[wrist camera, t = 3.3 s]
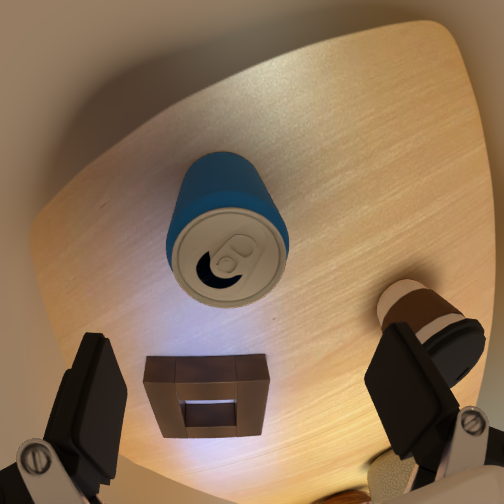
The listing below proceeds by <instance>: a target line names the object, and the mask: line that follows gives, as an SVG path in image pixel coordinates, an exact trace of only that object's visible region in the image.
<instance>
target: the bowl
mask: <svg viewBox="0 0 504 504" xmlns="http://www.w3.org/2000/svg"><path fill="white" fill-rule="evenodd" d="M323 504H372V501H371V496H370V493H367V492H364V491H357V490H350V491H346V492H342V493H339V494H336V495H334V496H331V497H329V498H328V499H327V500H326V501H325V502H324V503H323Z"/></svg>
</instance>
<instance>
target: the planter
mask: <svg viewBox="0 0 504 504" xmlns="http://www.w3.org/2000/svg"><path fill="white" fill-rule="evenodd" d="M414 465H415V460H414V457H411V458H408V459H405V460H402V461H401V460H400V458H399V455H398V456H397V455H396V454H395V453H394V451H393V449H391V450H389V451H387V452H385V453H384V454H382V455H381V456H379V457H378V458H377V459H376V460H375V461H374V462H373V463H372V465H371V466H370V468H369V470H368V473H367V481H368V487H369V492H370V496H371V501H372V504H378V503H381V502H384V501H387V500H389V499H392V498H395V497H398V496H401V495H403V494H404V492H405V489H406V487H407V484H408V482H409V479H410V476H411V473H412V471H413V468H414Z"/></svg>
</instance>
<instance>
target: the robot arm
mask: <svg viewBox="0 0 504 504" xmlns="http://www.w3.org/2000/svg"><path fill="white" fill-rule="evenodd" d="M364 381H365V385H366V387H367V389H368V392H369V394H370V396H371V399H372V401H373V403H374V406H375V408H376V410H377V413H378V415H379V417H380V420H381V422H382V424H383V427H384V429H385V432H386V434H387V437H388V439H389V441H390V444H391V446H392V449H393V451H394V453H395V454H396V455H397V456H398V455H399V458H400V460H401V461H402V460H405V459H408V458H411V457H414V460H415V465H414V468H413V471H412V473H411V476H410V479H409V482H408V484H407V487H406V489H405V492H404V494H403V495H401V496H398V497H395V498H392V499H389V500H387V501H384V502H381V503H378V504H504V432H503V431H501V430H498V429H495V428H493V427H490V426H489V421H488V418H487V416H486V414H485V413H484V412H483V411H482V410H481V409H479V408H477V407H475V406H466V407H464V408H462V409H461V410H460V409H459V408H458V407H459V406H460V405H459V403H458V402H457V400H456V398H455V397H454V395H453V393H452V391H451V390H450V388H449V386H448V385H447V383H446V382H445V380H444V378H443V377H442V375H441V373H440V372H439V370H438V369H437V367H436V365H435V364H434V362H433V361H432V359H431V358H430V356H429V355H428V353H427V351H426V350H425V348H424V347H423V345H422V344H421V342H420V341H419V339H418V338H417V336H416V335H415V333H414V332H413V330H412V329H411V327H410V326H409V324H408V323H407V322H405V321H401V322H394V323H390V324H389V325H388V327H386V328H385V330H384V332H383V334H382V337H381V339H380V342H379V344H378V346H377V349H376V351H375V354H374V356H373V358H372V360H371V363H370V365H369V367H368V369H367V371H366V374H365V377H364ZM126 401H127V387H126V384H125V381H124V379H123V376H122V374H121V371H120V368H119V366H118V363H117V360H116V358H115V355H114V352H113V349H112V346H111V343H110V340H109V339H108V338H105V337H104V335H103V334H102V333H89V332H86V333H85V334H84V336H83V339H82V341H81V344H80V347H79V349H78V352H77V354H76V357H75V360H74V362H73V365H72V368H71V369H68V370H66V372H65V373H64V376H63V378H62V381H61V384H60V387H59V390H58V392H57V395H56V398H55V401H54V405H53V408H52V411H51V414H50V417H49V420H48V424H47V427H46V430H45V434H44V437H43V440H42V439H38V438H33V439H30V440H27V441H25V442H24V443H22V445H21V446H20V447H19V449H18V451H17V455H16V462H15V463H13V464H12V465H10V466H8V467H6V468H4V469H2V470H1V471H0V504H105V503H104V502H103V500H102V499H101V497H100V496H99V494H98V493H99V488H100V484H104V485H110V479H114V478H115V475H116V467H117V457H118V451H119V444H120V437H121V430H122V424H123V418H124V412H125V406H126Z"/></svg>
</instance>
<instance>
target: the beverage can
mask: <svg viewBox="0 0 504 504" xmlns="http://www.w3.org/2000/svg"><path fill="white" fill-rule="evenodd" d="M288 252H289V236H288V231H287V228H286V225H285V223H284V221H283V219H282V217H281V215H280V213H279V211H278V209H277V208H276V206H275V204H274V202H273V200H272V198H271V196H270V194H269V193H268V191H267V189H266V187H265V185H264V183H263V181H262V180H261V178H260V176H259V174H258V172H257V171H256V169H255V168H254V166H253V165H252V164H251V163H250V162H249V161H247V160H246V159H245V158H243V157H241V156H239V155H236V154H233V153H229V152H217V153H212V154H208V155H206V156H204V157H202V158H200V159H199V160H197V161H196V162H195V163H194V164H193V165H192V166H191V167H190V168H189V170H188V171H187V173H186V175H185V177H184V180H183V183H182V186H181V189H180V192H179V196H178V199H177V202H176V206H175V209H174V213H173V216H172V220H171V223H170V227H169V230H168V234H167V239H166V254H167V259H168V262H169V265H170V267H171V270H172V271H173V273H174V276H175V278H176V280H177V282H178V284H179V285H180V287H181V288H182V289H183V290H184V291H185V292H186V293H187V294H188V295H189V296H190V297H192V298H193V299H195V300H196V301H198V302H200V303H203V304H205V305H208V306H212V307H217V308H237V307H242V306H246V305H249V304H251V303H254V302H256V301H258V300H260V299H261V298H263V297H264V296H266V295H267V294H268V293H269V292H271V290H272V289H273V288H274V287H275V286H276V285H277V283H278V282H279V280H280V279H281V277H282V275H283V272H284V269H285V265H286V260H287V257H288Z"/></svg>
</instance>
